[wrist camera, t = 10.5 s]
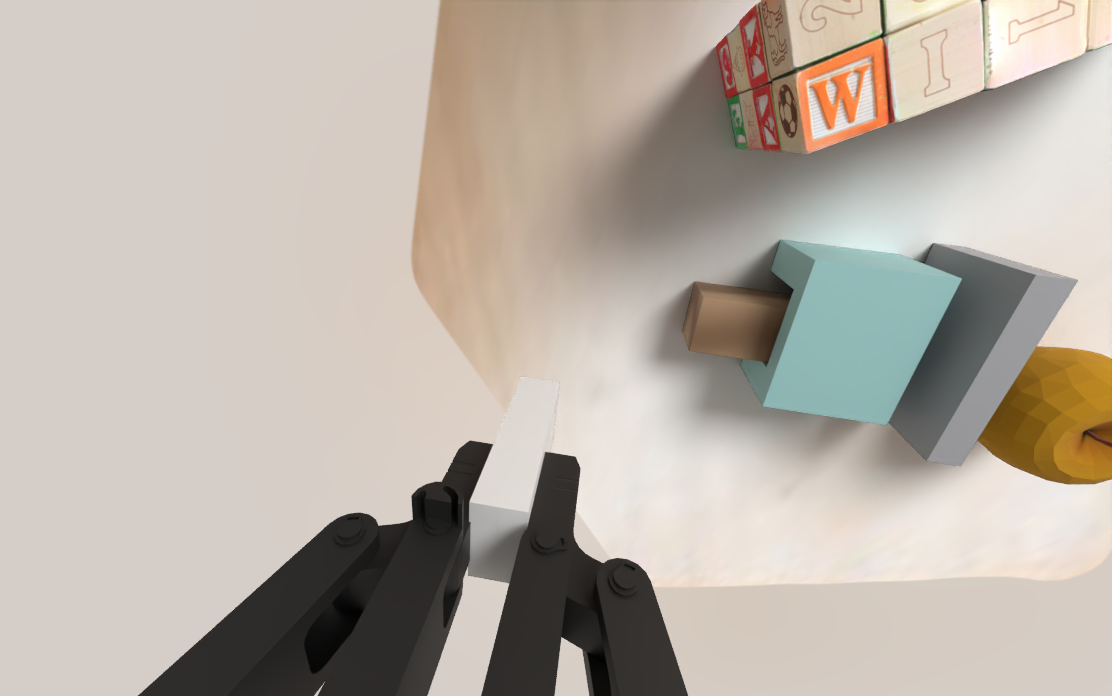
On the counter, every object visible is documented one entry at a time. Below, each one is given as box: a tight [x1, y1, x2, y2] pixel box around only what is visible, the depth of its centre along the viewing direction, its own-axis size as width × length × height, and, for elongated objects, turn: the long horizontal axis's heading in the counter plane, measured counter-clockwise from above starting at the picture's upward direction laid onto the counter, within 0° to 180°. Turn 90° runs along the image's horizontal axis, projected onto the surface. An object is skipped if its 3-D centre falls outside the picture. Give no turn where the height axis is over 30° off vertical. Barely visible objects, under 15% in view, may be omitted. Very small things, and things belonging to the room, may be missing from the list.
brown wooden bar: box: [682, 281, 792, 363], centre depth 31 cm, size 4×10×4 cm, turn 84°
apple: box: [977, 347, 1112, 484], centre depth 29 cm, size 8×8×9 cm
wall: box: [889, 243, 1078, 466], centre depth 28 cm, size 12×2×8 cm, turn 174°
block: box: [740, 240, 962, 425], centre depth 30 cm, size 10×8×6 cm
